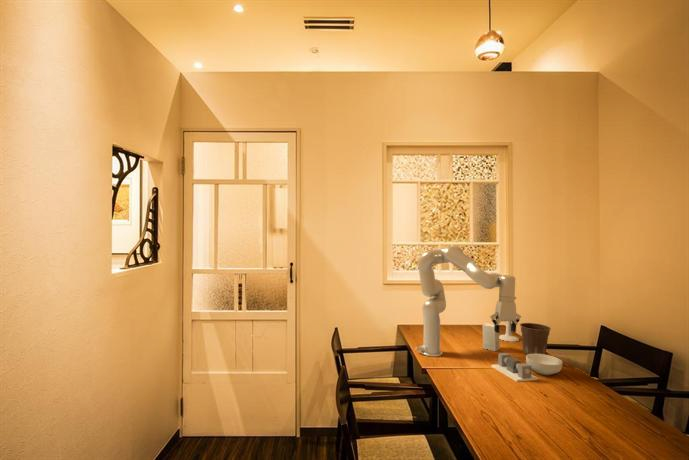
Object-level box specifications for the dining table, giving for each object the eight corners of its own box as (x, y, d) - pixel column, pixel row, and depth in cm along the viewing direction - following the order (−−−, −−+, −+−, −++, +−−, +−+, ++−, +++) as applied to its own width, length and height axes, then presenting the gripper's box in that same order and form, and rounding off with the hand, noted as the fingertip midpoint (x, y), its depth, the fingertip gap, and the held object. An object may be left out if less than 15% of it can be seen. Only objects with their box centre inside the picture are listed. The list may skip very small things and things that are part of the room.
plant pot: (543, 349, 234) (543, 323, 234) (555, 358, 218) (555, 330, 218) (515, 348, 236) (515, 322, 236) (525, 357, 220) (525, 329, 220)
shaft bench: (516, 381, 185) (516, 367, 185) (491, 366, 205) (491, 353, 205) (538, 379, 188) (538, 365, 188) (511, 365, 208) (511, 352, 207)
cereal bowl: (567, 380, 188) (567, 365, 188) (530, 377, 192) (530, 362, 191) (555, 367, 205) (555, 354, 205) (522, 364, 208) (522, 351, 208)
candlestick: (493, 337, 258) (494, 292, 258) (507, 335, 263) (508, 291, 263) (509, 343, 246) (510, 296, 246) (523, 340, 252) (524, 295, 251)
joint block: (505, 368, 199) (505, 357, 199) (513, 368, 200) (513, 356, 200) (514, 373, 193) (514, 361, 193) (521, 373, 194) (522, 361, 194)
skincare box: (499, 349, 233) (500, 325, 233) (495, 351, 229) (495, 327, 229) (486, 346, 239) (486, 322, 239) (481, 348, 235) (482, 324, 235)
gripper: (516, 297, 206) (515, 329, 207) (487, 297, 202) (486, 330, 203) (525, 300, 199) (524, 333, 199) (496, 301, 195) (494, 334, 196)
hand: (505, 331), depth 201 cm, fingers open, 9 cm apart
